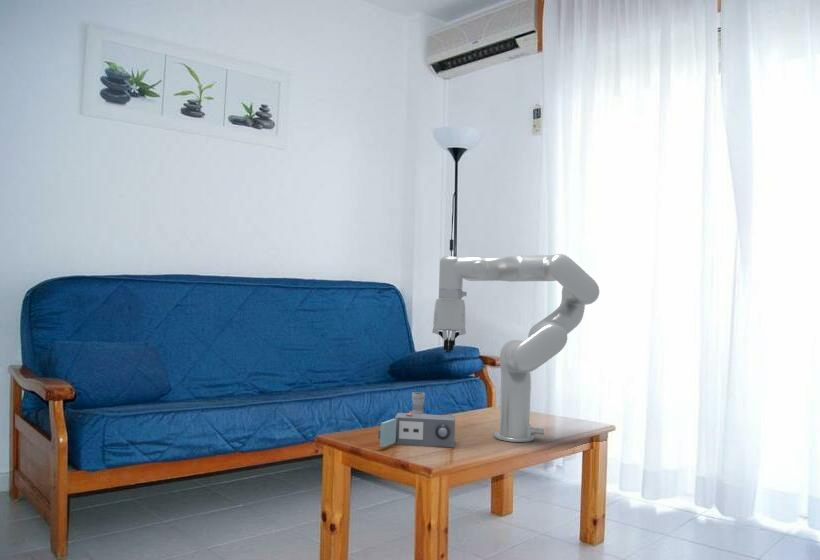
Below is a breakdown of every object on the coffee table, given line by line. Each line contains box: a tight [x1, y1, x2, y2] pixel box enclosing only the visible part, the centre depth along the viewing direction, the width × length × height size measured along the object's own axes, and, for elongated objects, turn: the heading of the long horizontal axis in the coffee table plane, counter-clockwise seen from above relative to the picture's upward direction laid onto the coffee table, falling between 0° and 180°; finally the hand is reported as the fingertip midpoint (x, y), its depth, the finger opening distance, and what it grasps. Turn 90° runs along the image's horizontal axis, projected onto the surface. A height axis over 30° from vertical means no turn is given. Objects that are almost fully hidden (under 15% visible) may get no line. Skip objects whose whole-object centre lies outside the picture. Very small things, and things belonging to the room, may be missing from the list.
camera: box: [408, 391, 426, 414], centre depth 217 cm, size 9×12×15 cm
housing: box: [393, 412, 456, 448], centre depth 196 cm, size 18×9×9 cm, turn 85°
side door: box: [377, 418, 396, 448], centre depth 189 cm, size 8×2×7 cm, turn 155°
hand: (448, 352), depth 206 cm, fingers closed
